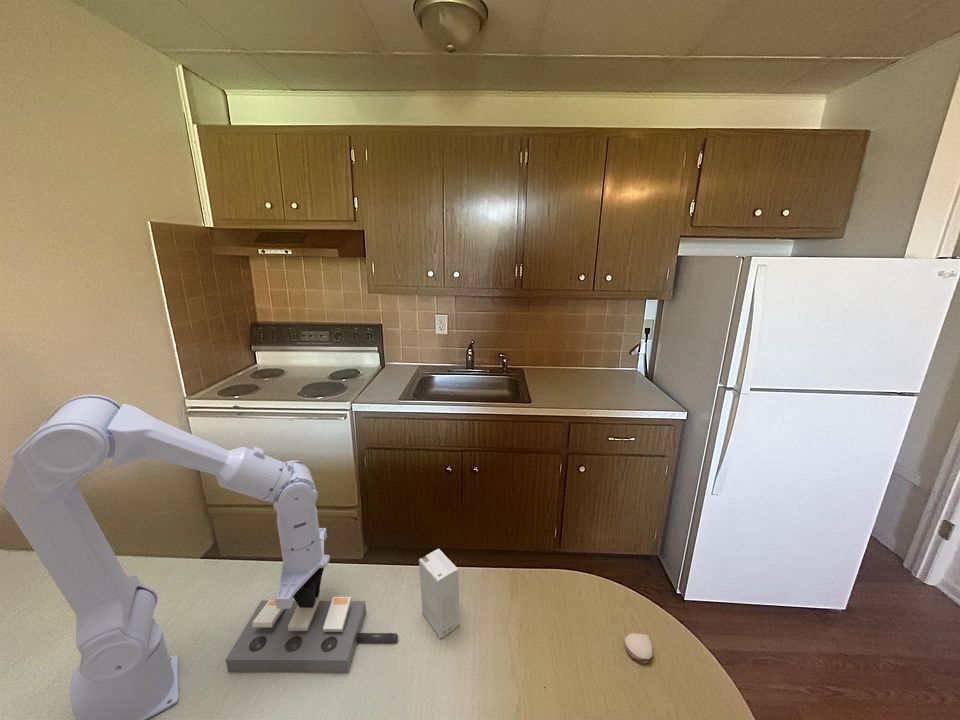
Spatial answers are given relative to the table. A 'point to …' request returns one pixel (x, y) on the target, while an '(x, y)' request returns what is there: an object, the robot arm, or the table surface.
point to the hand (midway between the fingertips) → (309, 603)
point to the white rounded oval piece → (639, 647)
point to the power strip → (301, 643)
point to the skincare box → (439, 592)
